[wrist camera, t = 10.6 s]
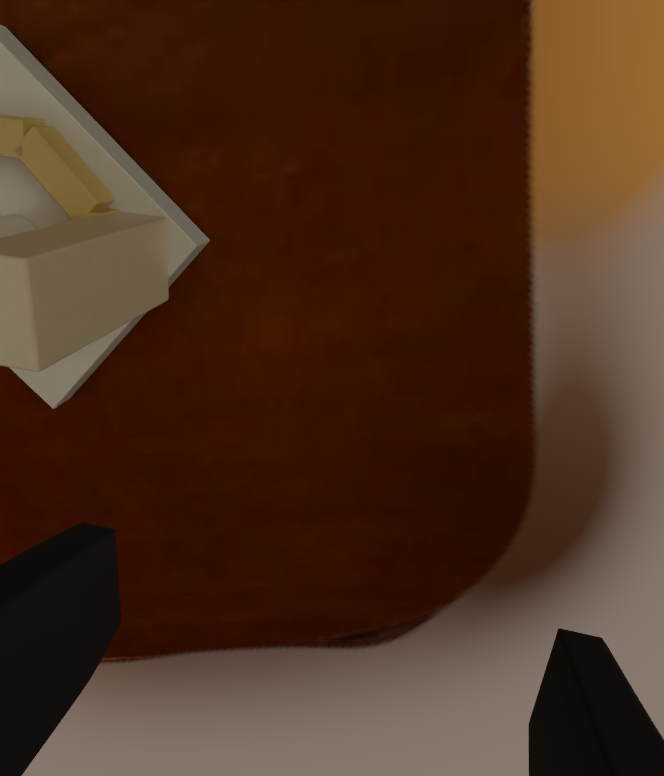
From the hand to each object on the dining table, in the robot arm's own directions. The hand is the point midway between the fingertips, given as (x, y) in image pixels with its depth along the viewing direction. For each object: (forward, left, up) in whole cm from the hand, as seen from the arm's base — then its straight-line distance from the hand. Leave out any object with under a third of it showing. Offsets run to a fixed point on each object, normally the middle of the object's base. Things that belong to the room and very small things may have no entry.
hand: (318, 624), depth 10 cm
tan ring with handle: (+11, +5, -9) cm, 15 cm away
